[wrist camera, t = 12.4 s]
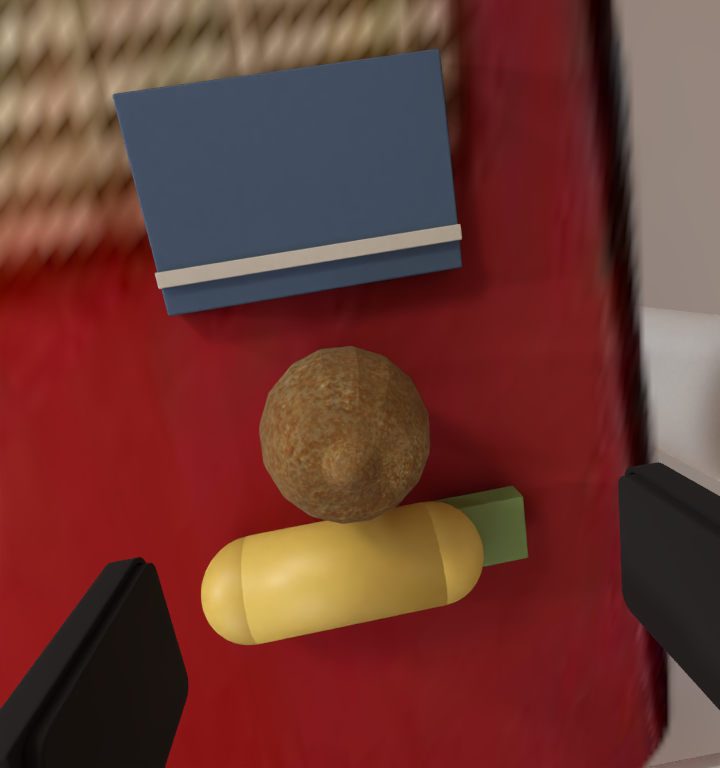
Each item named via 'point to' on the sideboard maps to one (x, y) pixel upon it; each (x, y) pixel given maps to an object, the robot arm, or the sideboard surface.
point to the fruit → (345, 434)
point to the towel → (294, 179)
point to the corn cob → (360, 567)
